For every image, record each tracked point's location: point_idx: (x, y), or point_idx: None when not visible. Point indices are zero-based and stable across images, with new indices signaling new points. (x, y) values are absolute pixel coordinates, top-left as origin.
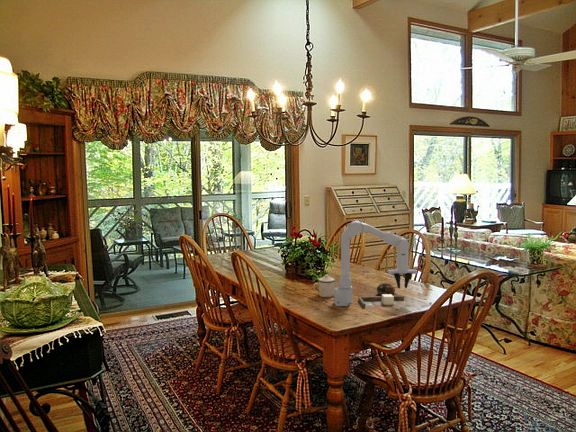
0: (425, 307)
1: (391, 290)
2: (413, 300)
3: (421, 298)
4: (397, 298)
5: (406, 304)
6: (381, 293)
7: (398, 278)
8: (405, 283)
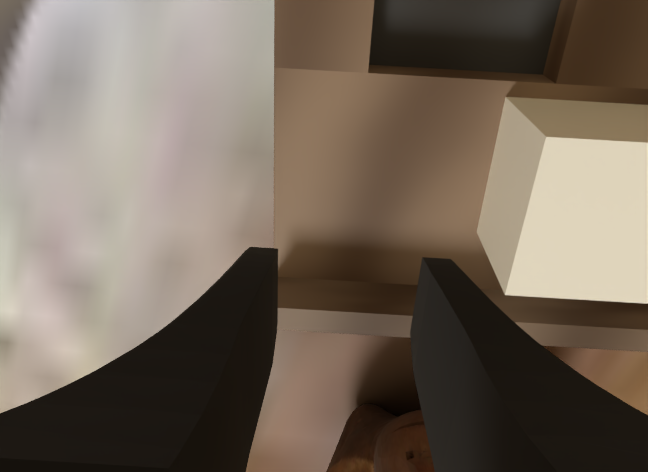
0: (29, 13)
1: (421, 437)
2: (139, 321)
3: (35, 370)
4: (363, 295)
5: (309, 65)
6: None
7: (607, 429)
8: (257, 355)
